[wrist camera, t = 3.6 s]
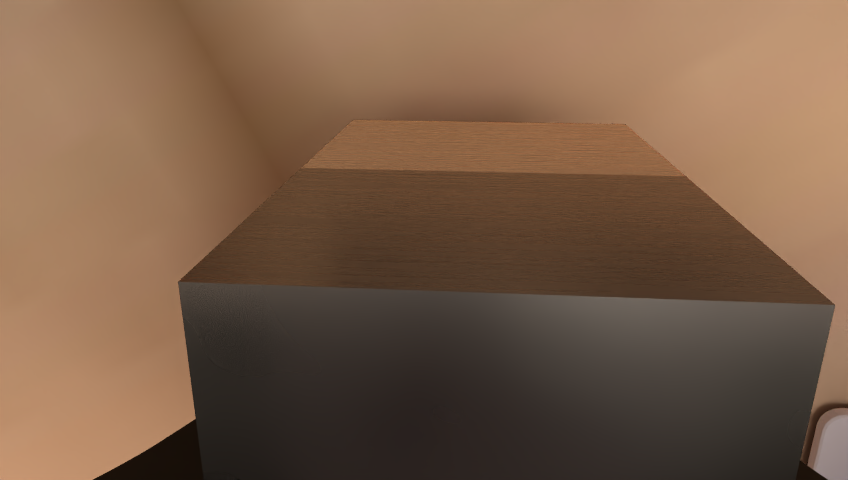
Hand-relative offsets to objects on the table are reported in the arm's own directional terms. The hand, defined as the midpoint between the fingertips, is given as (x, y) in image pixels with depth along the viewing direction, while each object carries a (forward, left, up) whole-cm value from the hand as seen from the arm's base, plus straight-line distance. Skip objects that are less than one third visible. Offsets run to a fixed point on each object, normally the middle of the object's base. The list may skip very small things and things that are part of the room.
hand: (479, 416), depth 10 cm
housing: (0, 0, -2) cm, 2 cm away
